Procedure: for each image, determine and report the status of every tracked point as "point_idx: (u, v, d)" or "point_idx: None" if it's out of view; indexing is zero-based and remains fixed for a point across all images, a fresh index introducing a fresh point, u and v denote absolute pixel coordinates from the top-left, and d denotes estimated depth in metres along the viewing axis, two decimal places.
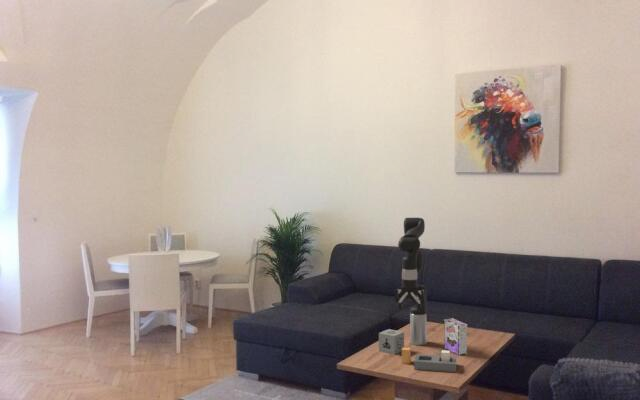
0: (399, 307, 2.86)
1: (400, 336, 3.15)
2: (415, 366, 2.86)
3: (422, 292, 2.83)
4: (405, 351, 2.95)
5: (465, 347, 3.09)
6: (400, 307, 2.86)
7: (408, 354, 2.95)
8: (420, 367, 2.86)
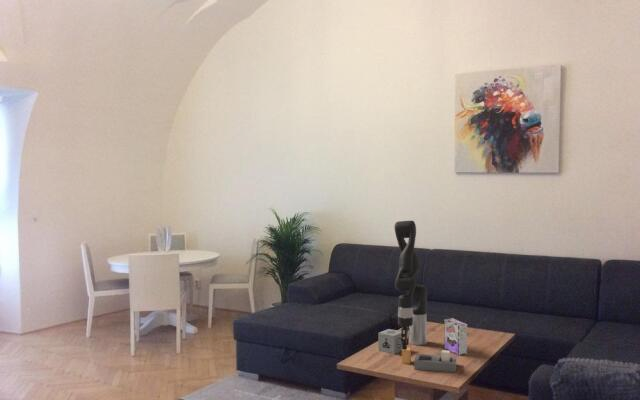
0: (405, 347, 2.92)
1: (400, 336, 3.15)
2: (415, 366, 2.86)
3: (409, 325, 3.02)
4: (405, 351, 2.95)
5: (465, 347, 3.09)
6: (406, 346, 2.92)
7: (408, 354, 2.95)
8: (420, 367, 2.86)
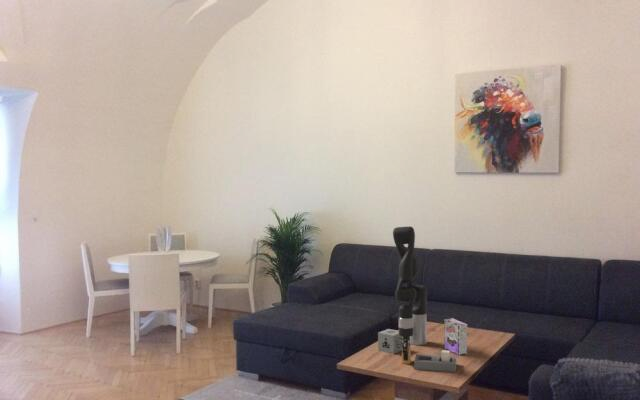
0: (406, 358, 2.94)
1: (399, 336, 3.16)
2: (415, 366, 2.86)
3: (409, 338, 3.02)
4: None
5: (465, 347, 3.09)
6: (407, 357, 2.95)
7: (408, 354, 2.95)
8: (420, 367, 2.86)
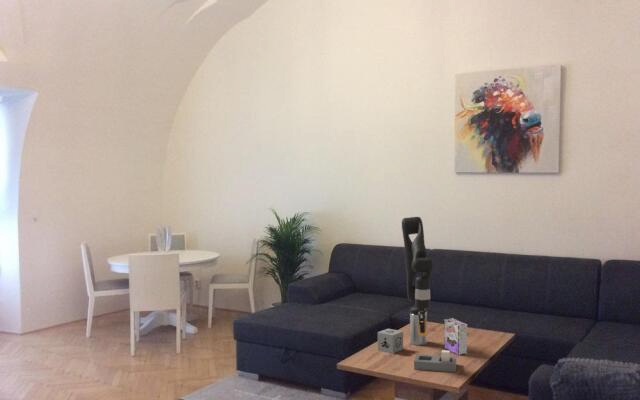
0: (423, 330, 2.87)
1: (399, 335, 3.16)
2: (415, 366, 2.86)
3: (426, 310, 2.96)
4: None
5: (465, 347, 3.09)
6: (424, 329, 2.88)
7: (425, 326, 2.88)
8: (420, 367, 2.86)
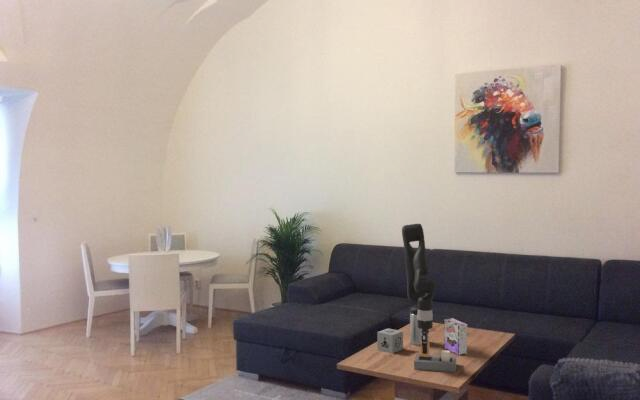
0: (426, 351, 2.88)
1: (398, 335, 3.16)
2: (415, 366, 2.86)
3: (428, 331, 2.96)
4: None
5: (465, 347, 3.09)
6: None
7: (427, 347, 2.88)
8: (420, 367, 2.86)
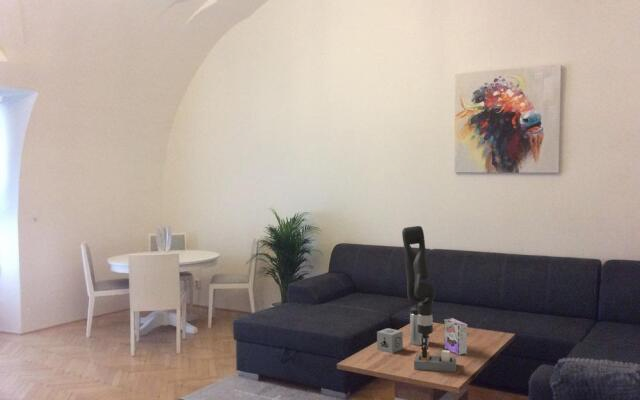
0: (425, 355, 2.86)
1: (398, 335, 3.17)
2: (415, 366, 2.86)
3: None
4: None
5: (465, 347, 3.09)
6: (426, 354, 2.86)
7: (427, 356, 2.88)
8: (420, 367, 2.86)
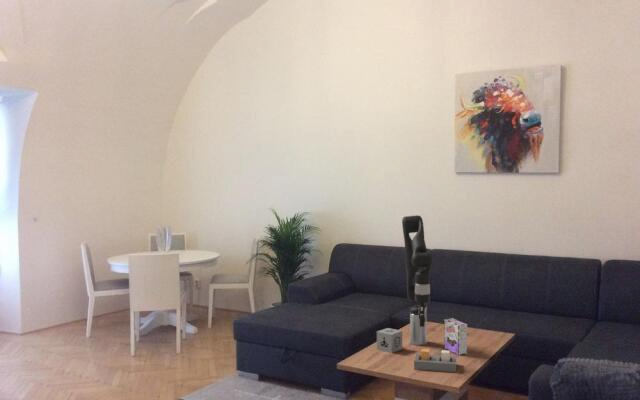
0: (423, 324, 2.87)
1: (398, 335, 3.17)
2: (415, 366, 2.86)
3: (425, 302, 2.97)
4: (424, 353, 2.89)
5: (465, 347, 3.09)
6: (424, 323, 2.87)
7: (427, 356, 2.88)
8: (420, 367, 2.86)
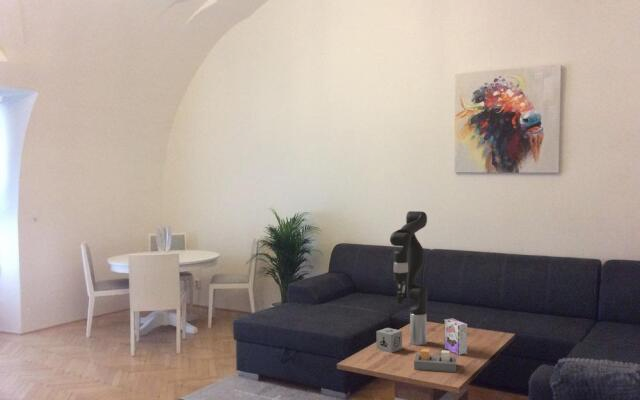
0: (401, 301, 2.97)
1: (397, 335, 3.18)
2: (415, 366, 2.86)
3: (404, 281, 3.07)
4: (424, 353, 2.89)
5: (465, 347, 3.09)
6: None
7: (427, 356, 2.88)
8: (420, 367, 2.86)
